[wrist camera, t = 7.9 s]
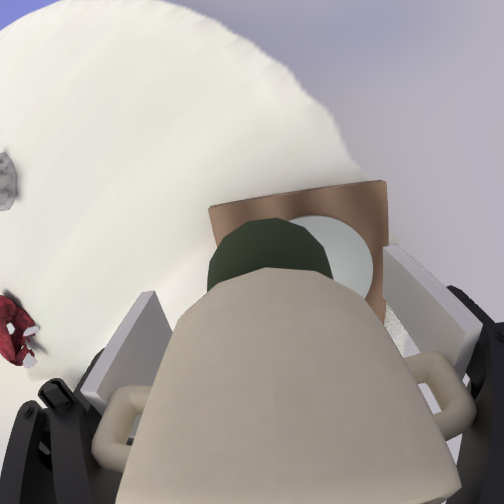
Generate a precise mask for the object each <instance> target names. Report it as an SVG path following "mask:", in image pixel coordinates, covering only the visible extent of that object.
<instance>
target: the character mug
mask: <svg viewBox="0 0 504 504" xmlns="http://www.w3.org/2000/svg"><path fill="white" fill-rule="evenodd" d="M420 383H426V384H427V385H428V386H429V388H430V390H431V392H432V393H433V395H434V397H435V399H436V401H437V403H438V405H439V407H440V408H441V410H442V411H441V412H439V413H436V414H434V415H433V414H432V412H431V409H430V408H429V405H428V404H427V401H426V400H425V398H424V396H423V394H422V392H421V390H420V388H419V386H418V384H420ZM476 413H477V410H476V406H475V401H474V399H473V397H472V395H471V394H470V392H469V391H468V389H467V387H466V386H465V384H464V383H463V381H462V380H461V378H460V377H459V375H458V374H457V372H456V371H455V369H454V368H453V366H452V365H451V363H450V362H449V360H448V359H447V358H446V357H445V356H444V355H442V354H441V353H440V352H439V351H426V352H423V353H420V354H417V355H414V356H410V357H406V358H403V357H402V355H401V353H400V352H399V350H398V348H397V346H396V345H395V343H394V341H393V340H392V338H391V336H390V335H389V333H388V331H387V330H386V328H385V326H384V325H383V324H382V322H381V321H380V319H379V318H378V317H377V315H376V314H375V313H374V311H373V310H372V309H371V307H370V306H369V304H368V303H367V302H366V300H365V299H364V298H363V297H362V296H360V295H359V294H358V293H357V292H355V291H354V290H352V289H350V288H348V287H346V286H344V285H342V284H340V283H338V282H336V281H334V279H333V275H332V271H331V268H330V264H329V261H328V258H327V255H326V252H325V249H324V247H323V246H322V245H321V244H320V243H319V242H318V241H317V239H316V238H315V237H314V236H313V235H312V234H311V233H310V232H309V231H308V230H307V229H306V228H305V227H303V226H300V225H297V224H294V223H291V222H288V221H286V220H283V219H280V218H277V217H276V218H269V219H261V220H253V221H247V222H246V223H244V224H243V225H241V226H240V227H238V228H237V229H235V230H234V231H232V232H231V233H229V234H228V235H226V236H225V237H223V239H222V241H221V243H220V244H219V246H218V248H217V250H216V251H215V253H214V255H213V257H212V258H211V260H210V264H209V271H208V282H207V293H206V294H205V295H204V296H203V297H202V298H200V299H199V300H198V301H197V302H196V303H195V304H193V305H192V306H191V307H190V308H189V309H188V310H187V311H186V312H185V313H184V314H183V315H182V316H181V317H180V319H179V320H178V321H177V324H176V326H175V329H174V331H173V334H172V336H171V339H170V341H169V344H168V346H167V349H166V351H165V354H164V356H163V359H162V362H161V364H160V367H159V370H158V372H157V375H156V378H155V380H154V383H153V386H152V387H151V386H135V385H129V386H123V387H119V388H118V389H117V390H116V392H115V393H114V394H113V395H112V397H111V399H110V401H109V403H108V405H107V408H106V410H105V412H104V414H103V416H102V419H101V421H100V423H99V426H98V428H97V430H96V433H95V435H94V437H93V440H92V448H91V454H92V455H93V457H94V458H95V460H96V461H97V463H98V464H99V465H100V466H101V467H103V468H105V469H108V470H112V471H116V472H120V473H123V476H122V479H121V483H120V486H119V490H118V493H117V497H116V502H115V504H441V503H443V502H444V501H446V500H447V499H448V498H449V497H451V496H452V495H453V494H454V493H456V492H457V491H458V490H459V489H460V488H461V487H462V486H461V482H460V478H459V474H458V470H457V467H456V464H455V462H454V460H453V457H452V455H451V452H450V450H449V448H448V445H447V443H446V441H448V440H450V439H452V438H454V437H456V436H457V435H460V434H462V433H464V432H466V431H467V430H468V429H469V428H470V427H471V426H472V424H473V422H474V419H475V416H476ZM139 414H142V417H141V420H140V423H139V426H138V429H137V432H136V435H135V438H134V441H133V444H132V446H129V445H126V443H127V440H128V437H129V435H130V432H131V429H132V426H133V423H134V420H135V418H136V416H137V415H139Z"/></svg>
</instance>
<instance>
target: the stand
mask: <svg viewBox="0 0 504 504" xmlns="http://www.w3.org/2000/svg"><path fill="white" fill-rule="evenodd" d="M208 211H209V215H210V219H211V224H212V228H213V232H214V236H215V240H216V244H217V248H218V246H219V244H220V243H221V241H222V239H223V237H225V236H226V235H228V234H229V233H231V232H232V231H234V230H235V229H237V228H238V227H240V226H241V225H243V224H244V223H246V222H247V221H253V220H261V219H269V218H276V217H277V218H280V219H283V220H286V221H287V220H290V219H293V218H296V217H300V216H306V215H323V216H329V217H332V218H336V219H338V220H340V221H342V222H344V223H346V224H348V225H349V226H350V227H352V228H353V229H354V230H355V231H356V232H357V233H358V234H359V235H360V236H361V237H362V238H363V240H364V241H365V243H366V244H367V246H368V248H369V251H370V253H371V257H372V262H373V277H372V282H371V286H370V288H369V291H368V293H367V295H366V297H365V300H366V302H367V303H368V304H369V306H370V307H371V309H372V310H373V311H374V313H375V314H376V315H377V317H378V318H379V319H380V321H381V322H382V324H383V325H384V320H385V309H386V300H385V299H384V298H383V247H385V246H388V201H387V185H386V182H385V181H382V180H377V181H368V182H359V183H351V184H343V185H335V186H328V187H321V188H314V189H307V190H300V191H294V192H287V193H281V194H275V195H269V196H263V197H257V198H252V199H246V200H241V201H235V202H230V203H225V204H219V205H214V206H210V208H209V209H208Z"/></svg>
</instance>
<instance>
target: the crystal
mask: <svg viewBox="0 0 504 504" xmlns="http://www.w3.org/2000/svg"><path fill="white" fill-rule="evenodd" d="M15 197H16V172H15V169H14V166H13V162H12V159H10V158H9V157H8V156H7V155H6V154H5V153H1V154H0V211H5V210H9V209H10V208H11V206H12V205H13V204H14V200H15Z"/></svg>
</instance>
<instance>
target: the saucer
mask: <svg viewBox="0 0 504 504" xmlns="http://www.w3.org/2000/svg"><path fill="white" fill-rule="evenodd" d="M287 221H288V222H291V223H294V224H297V225H300V226H303V227H305V228H306V229H307V230H308V231H309V232H310V233H311V234H312V235H313V236H314V237H315V238H316V239H317V241H318V242H319V243H320V244H321V245H322V246H323V247H324V249H325V252H326V255H327V258H328V261H329V264H330V268H331V271H332V275H333V279H334V281H336V282H338V283H340V284H342V285H344V286H346V287H348V288H350V289H352V290H354V291H355V292H357V293H358V294H359V295H360V296H362V297H363V298H364V299H365V297H366V295H367V293H368V291H369V288H370V286H371V282H372V277H373V262H372V257H371V253H370V251H369V248H368V246H367V244H366V243H365V241H364V240H363V238H362V237H361V236H360V235H359V234H358V233H357V232H356V231H355V230H354V229H353V228H352V227H350V226H349V225H348V224H346V223H344V222H342V221H340V220H338V219H336V218H332V217H329V216H323V215H306V216H300V217H296V218H293V219H290V220H287Z"/></svg>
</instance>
